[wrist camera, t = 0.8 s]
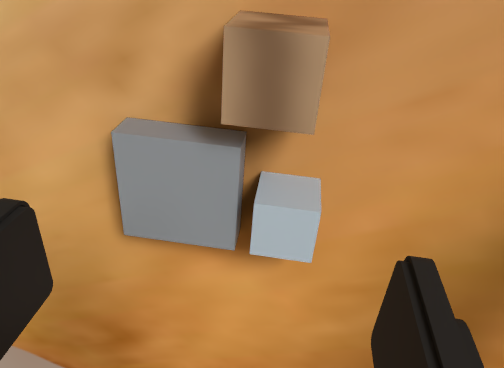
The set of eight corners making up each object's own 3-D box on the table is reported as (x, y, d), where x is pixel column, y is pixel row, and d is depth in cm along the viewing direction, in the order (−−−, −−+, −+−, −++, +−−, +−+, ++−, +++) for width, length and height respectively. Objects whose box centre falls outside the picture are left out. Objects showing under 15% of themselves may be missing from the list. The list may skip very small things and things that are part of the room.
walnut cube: (327, 18, 28) (330, 36, 22) (314, 102, 31) (313, 134, 26) (240, 10, 28) (224, 25, 23) (236, 93, 31) (221, 123, 26)
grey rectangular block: (246, 131, 33) (240, 147, 30) (240, 229, 38) (234, 250, 35) (126, 117, 33) (111, 132, 31) (136, 215, 39) (124, 234, 36)
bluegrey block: (320, 178, 34) (321, 212, 30) (311, 225, 37) (311, 262, 32) (261, 170, 34) (254, 203, 30) (257, 217, 37) (249, 253, 33)
